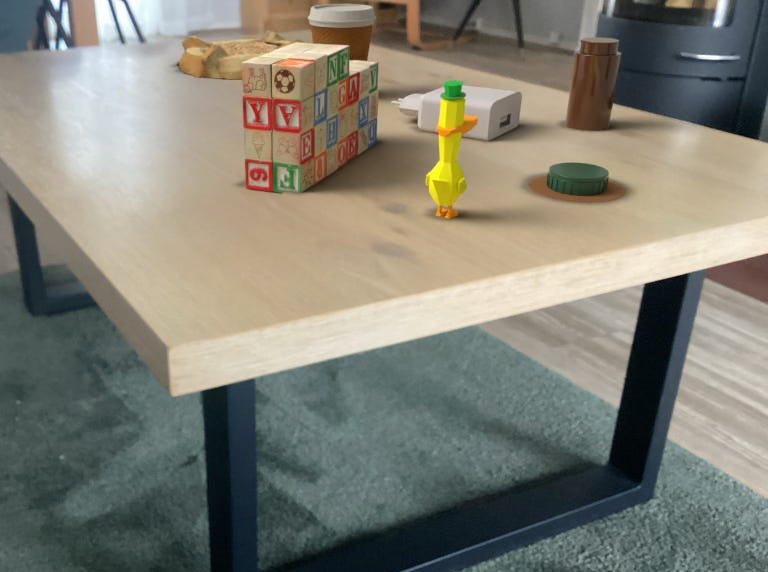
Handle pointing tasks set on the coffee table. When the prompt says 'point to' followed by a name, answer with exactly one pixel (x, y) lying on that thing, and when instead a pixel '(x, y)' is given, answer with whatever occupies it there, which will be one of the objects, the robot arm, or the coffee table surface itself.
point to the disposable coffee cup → (343, 27)
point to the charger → (468, 110)
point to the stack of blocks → (305, 114)
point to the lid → (577, 179)
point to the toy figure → (450, 149)
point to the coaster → (609, 194)
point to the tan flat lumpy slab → (226, 54)
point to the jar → (593, 84)
